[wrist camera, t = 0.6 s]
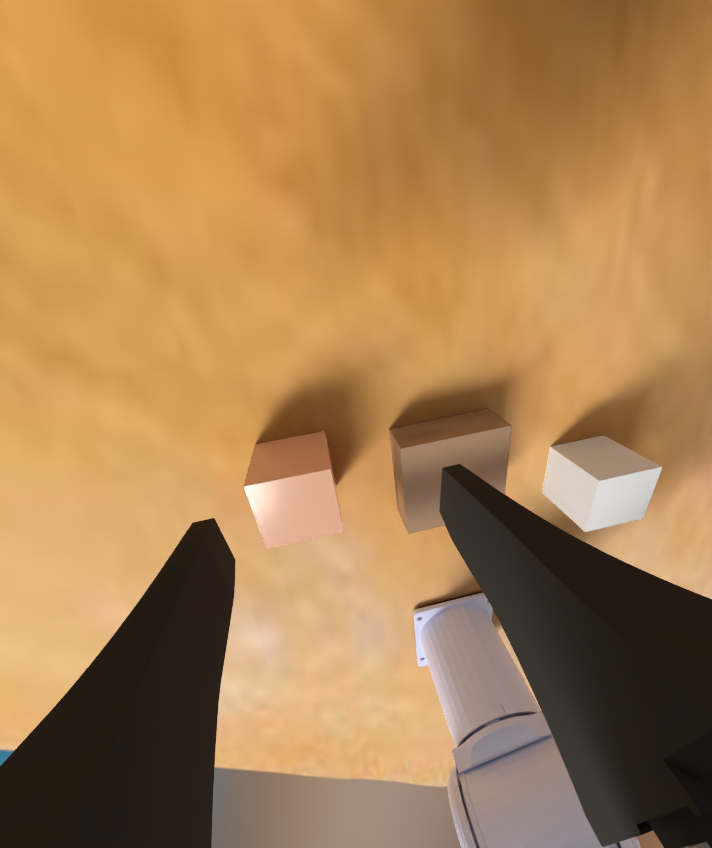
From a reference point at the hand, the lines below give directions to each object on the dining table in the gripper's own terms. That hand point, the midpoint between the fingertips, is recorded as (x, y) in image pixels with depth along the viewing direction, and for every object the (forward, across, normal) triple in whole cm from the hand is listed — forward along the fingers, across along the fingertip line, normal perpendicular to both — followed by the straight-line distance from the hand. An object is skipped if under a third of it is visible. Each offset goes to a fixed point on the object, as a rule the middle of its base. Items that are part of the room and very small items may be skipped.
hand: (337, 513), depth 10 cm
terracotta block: (+10, +2, +6) cm, 12 cm away
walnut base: (+10, -8, +7) cm, 15 cm away
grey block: (+9, -19, +10) cm, 23 cm away
